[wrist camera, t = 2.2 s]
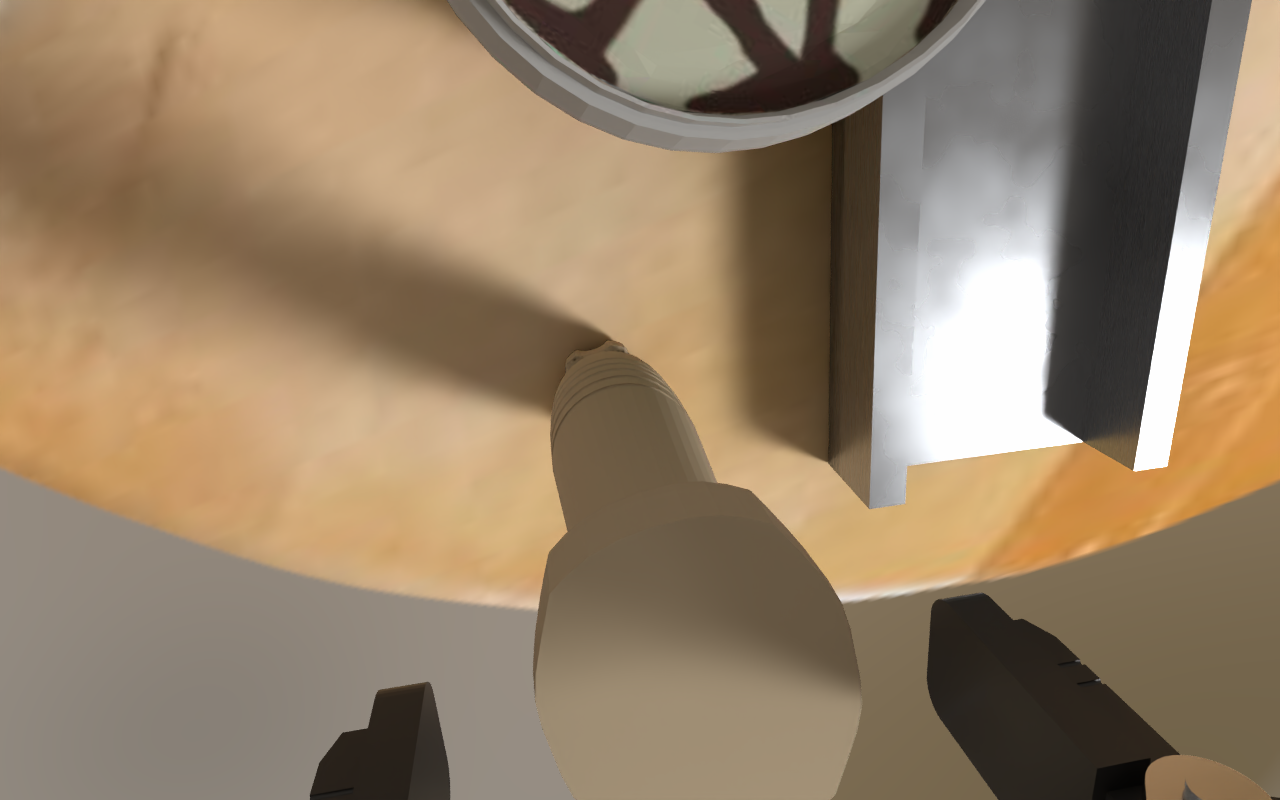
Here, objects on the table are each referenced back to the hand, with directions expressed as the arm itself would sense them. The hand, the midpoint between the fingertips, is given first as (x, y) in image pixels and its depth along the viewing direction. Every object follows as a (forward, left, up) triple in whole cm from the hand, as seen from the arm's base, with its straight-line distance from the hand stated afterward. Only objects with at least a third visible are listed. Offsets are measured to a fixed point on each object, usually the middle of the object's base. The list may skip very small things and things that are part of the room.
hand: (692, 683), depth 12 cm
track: (-6, +13, -15) cm, 20 cm away
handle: (0, 0, -15) cm, 15 cm away
